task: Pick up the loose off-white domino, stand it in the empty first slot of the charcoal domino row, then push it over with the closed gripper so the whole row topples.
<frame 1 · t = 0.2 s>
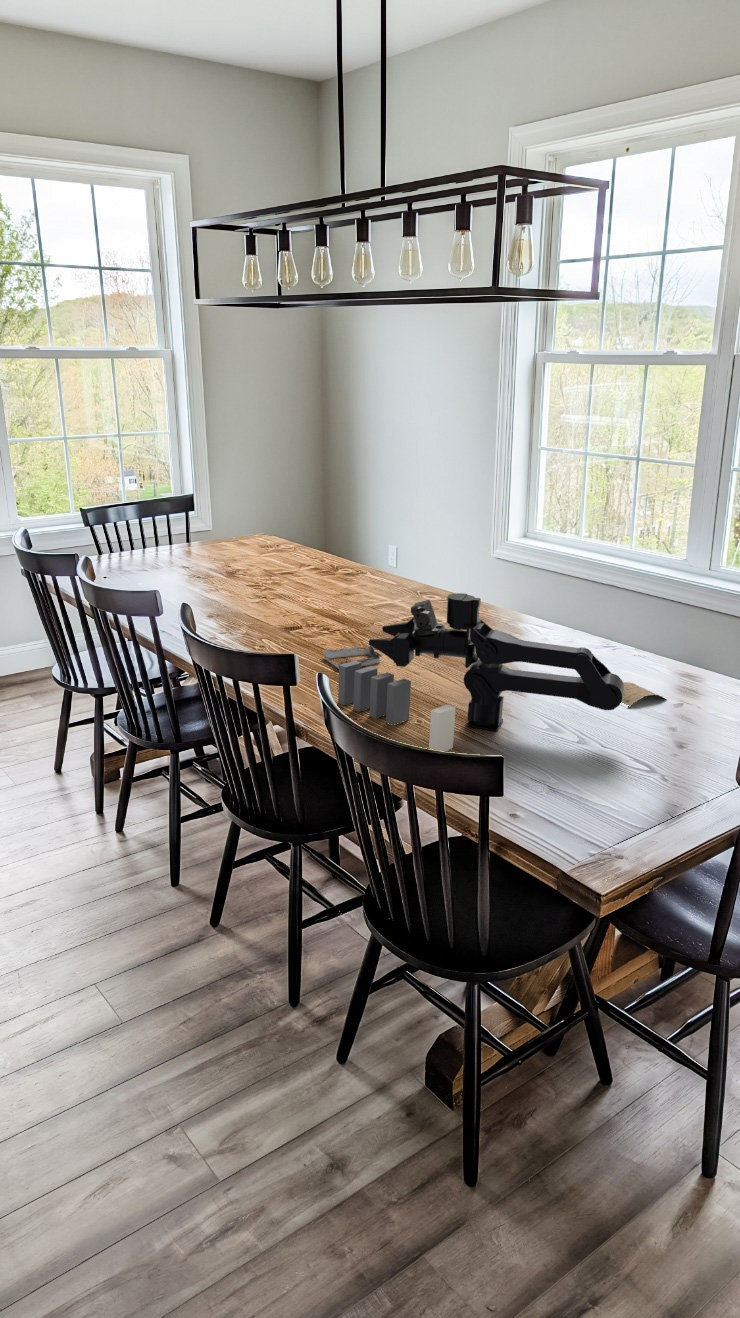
hand: (375, 635, 193), 17 cm above the table, tool horizontal, fingers open, 9 cm apart
clay tablet: (632, 700, 210), on the table
domino 5: (349, 701, 200), on the table
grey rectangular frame: (353, 664, 226), on the table
domino 2: (397, 721, 190), on the table
domino 3: (380, 714, 194), on the table
loose domino: (440, 750, 177), on the table
domino 4: (364, 708, 197), on the table
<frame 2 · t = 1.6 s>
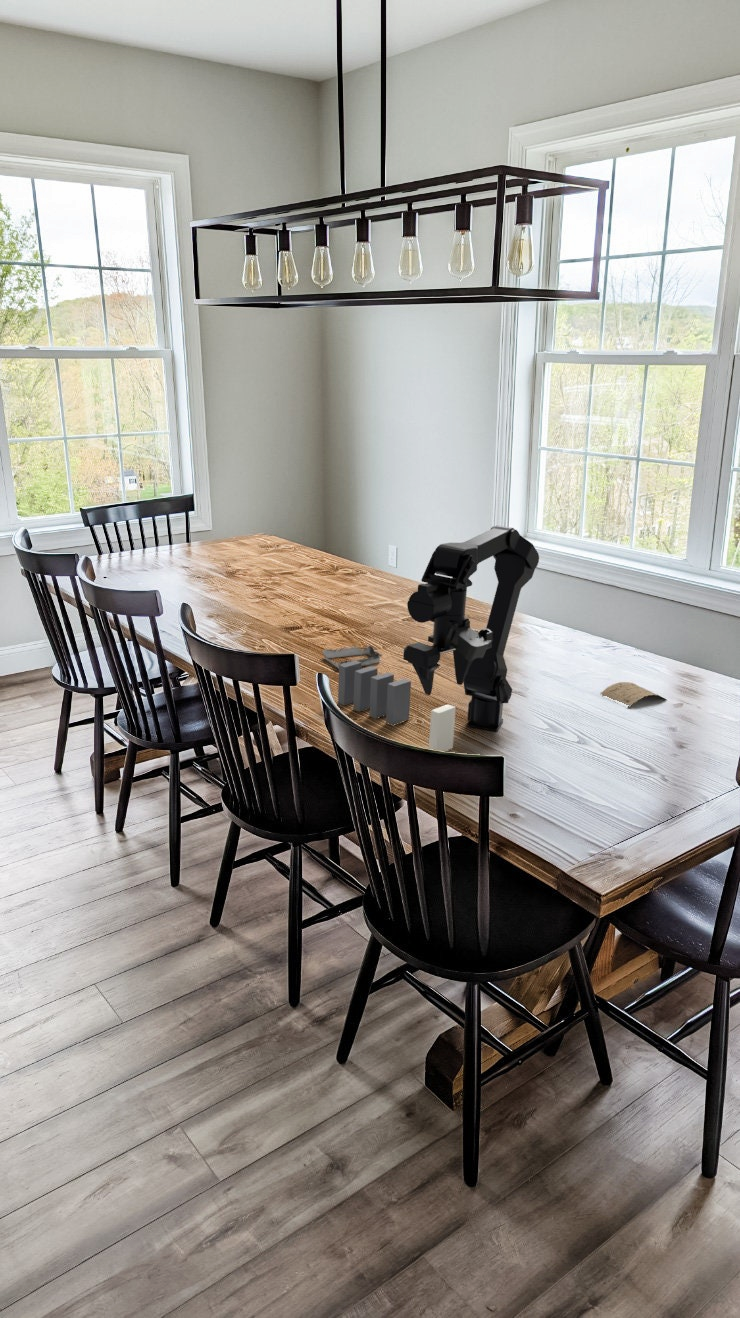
hand: (444, 689, 173), 13 cm above the table, tool pointing down, fingers open, 9 cm apart
nothing on the table moved.
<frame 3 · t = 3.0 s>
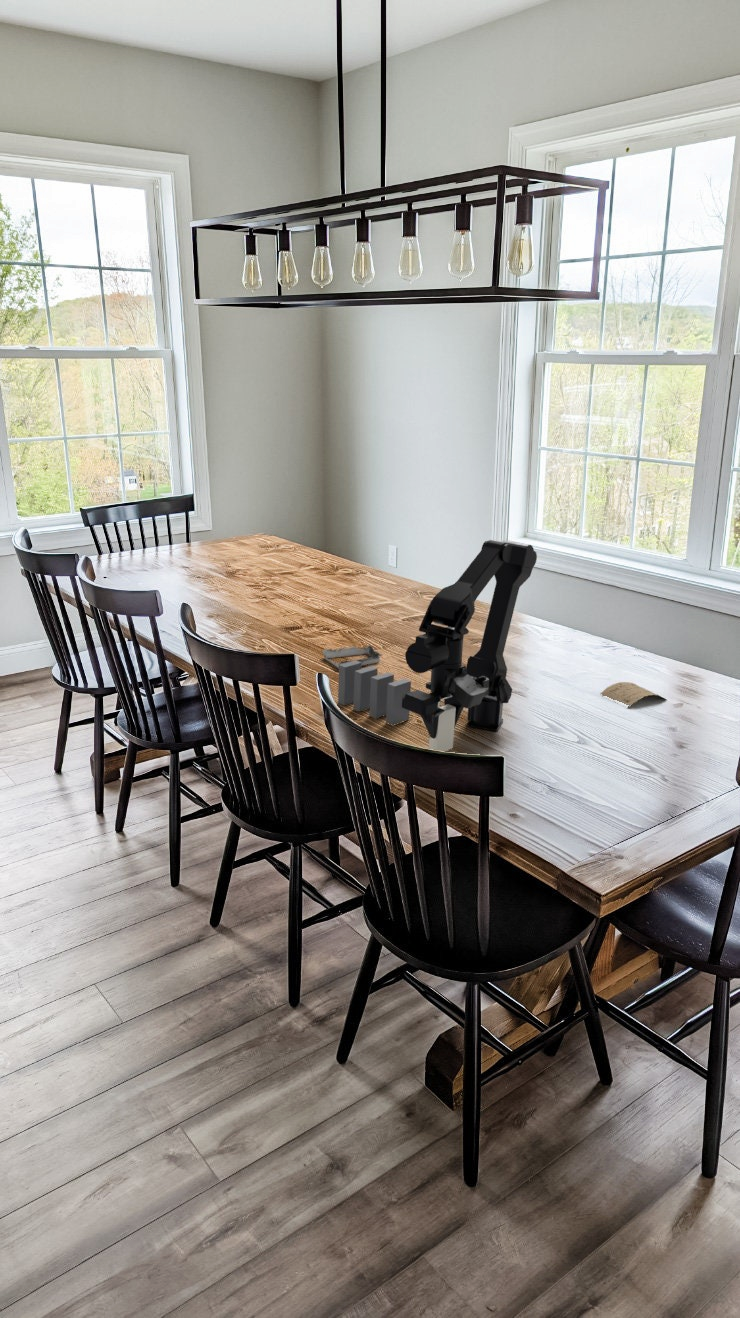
hand: (441, 734, 176), 4 cm above the table, tool pointing down, fingers closed on loose domino, 5 cm apart
loose domino: (440, 750, 177), on the table, touching gripper
everything else where it was.
when the fingers open (4 cm above the table, at t = 7.6 s): loose domino stays where it is, on the table.
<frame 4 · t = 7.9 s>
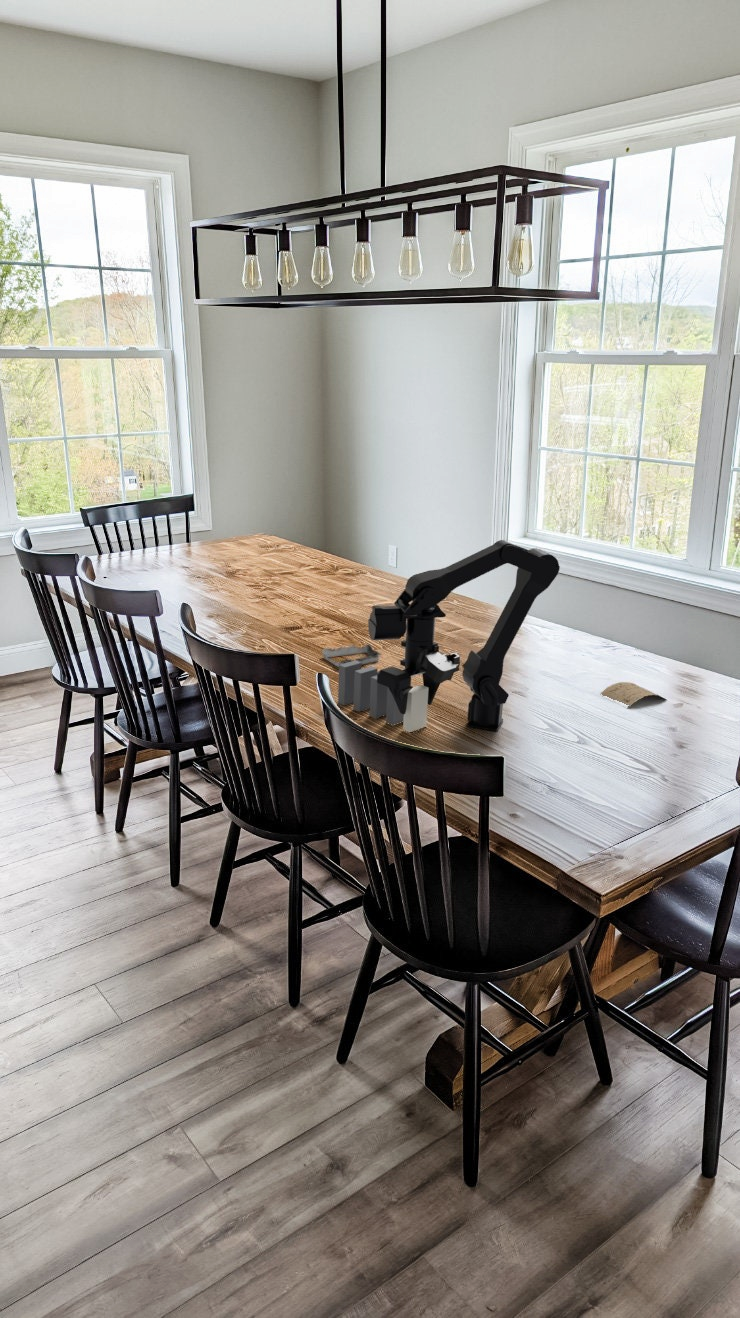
hand: (415, 709, 185), 4 cm above the table, tool pointing down, fingers open, 8 cm apart
loose domino: (414, 729, 187), on the table
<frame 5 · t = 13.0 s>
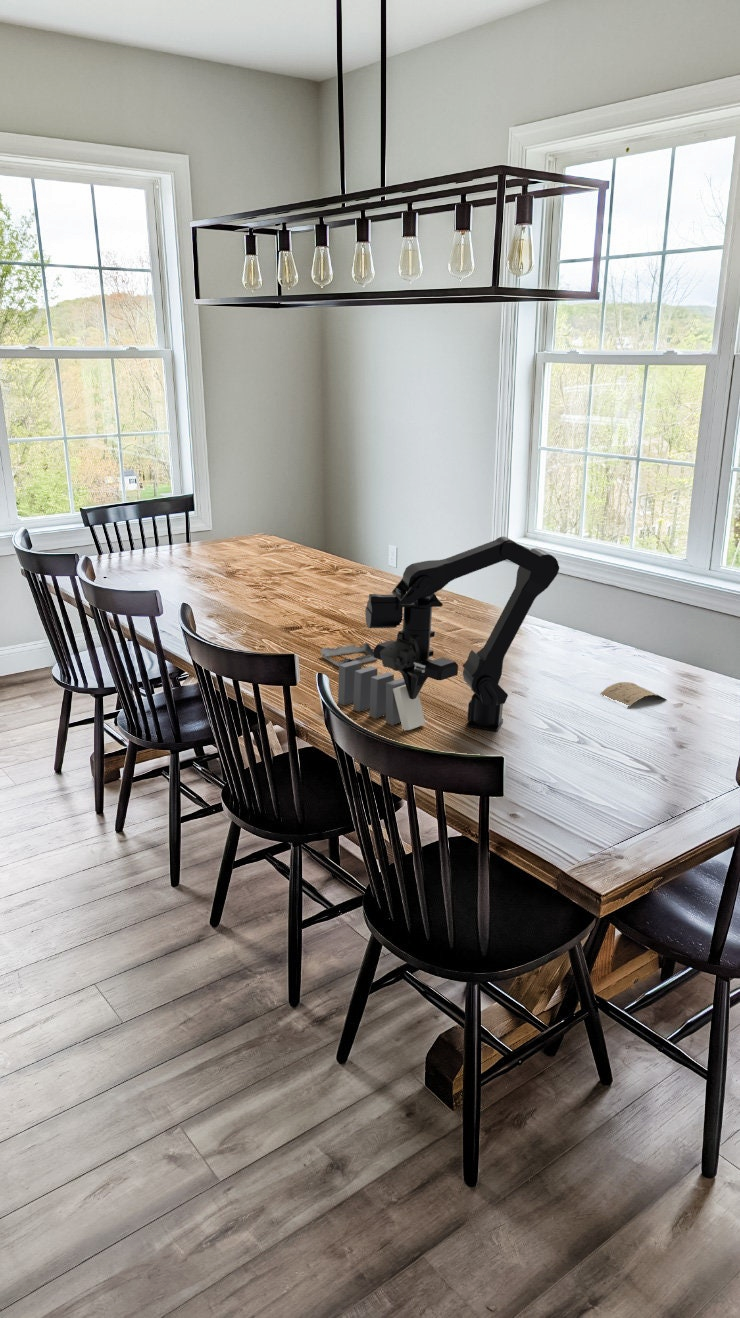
hand: (412, 698, 185), 7 cm above the table, tool pointing down, fingers closed
domino 2: (397, 721, 190), on the table, touching loose domino
loose domino: (414, 727, 187), on the table, tilted 23°, touching domino 2
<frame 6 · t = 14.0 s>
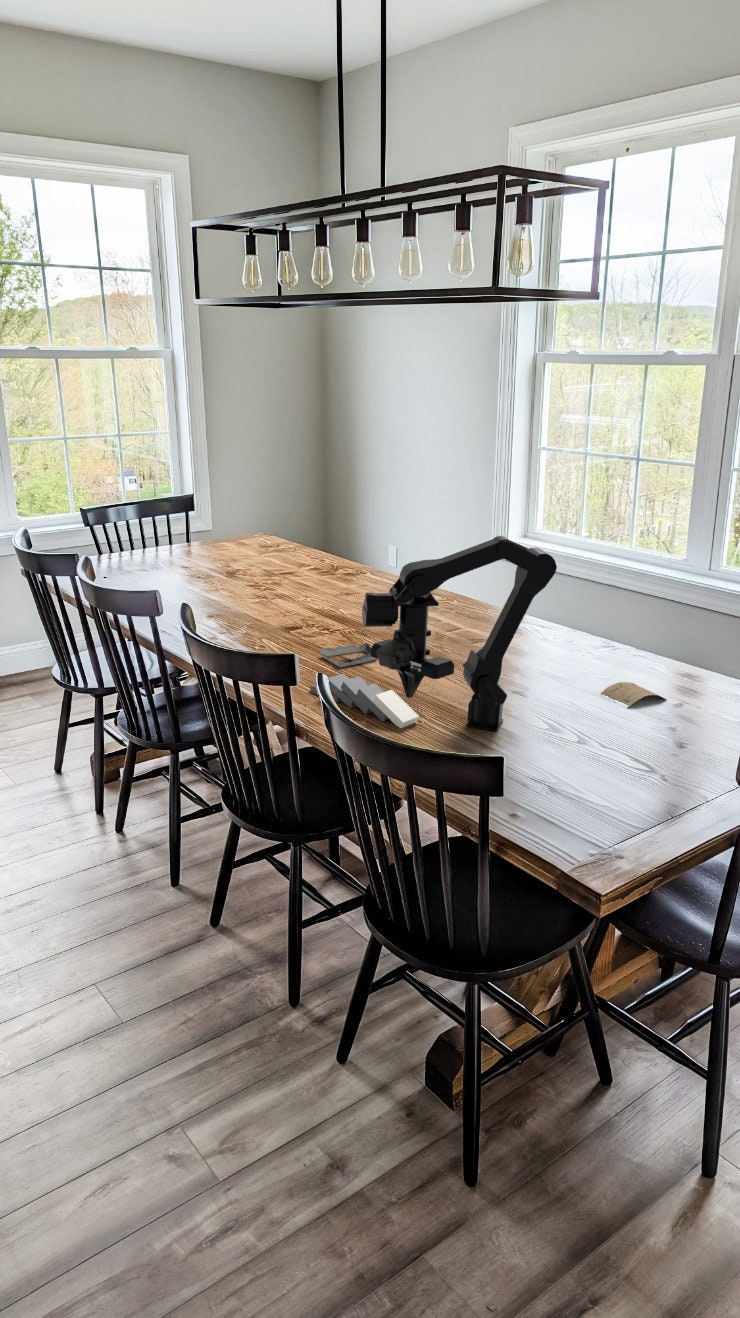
hand: (409, 697, 186), 6 cm above the table, tool pointing down, fingers closed
domino 5: (345, 698, 201), on the table, tilted 90°, touching domino 4
domino 2: (392, 715, 191), point 1 cm above the table, tilted 66°, touching domino 3, loose domino
domino 3: (375, 708, 194), point 1 cm above the table, tilted 66°, touching domino 2, domino 4
loose domino: (409, 722, 188), point 1 cm above the table, tilted 66°, touching domino 2
domino 4: (359, 702, 198), point 1 cm above the table, tilted 72°, touching domino 3, domino 5
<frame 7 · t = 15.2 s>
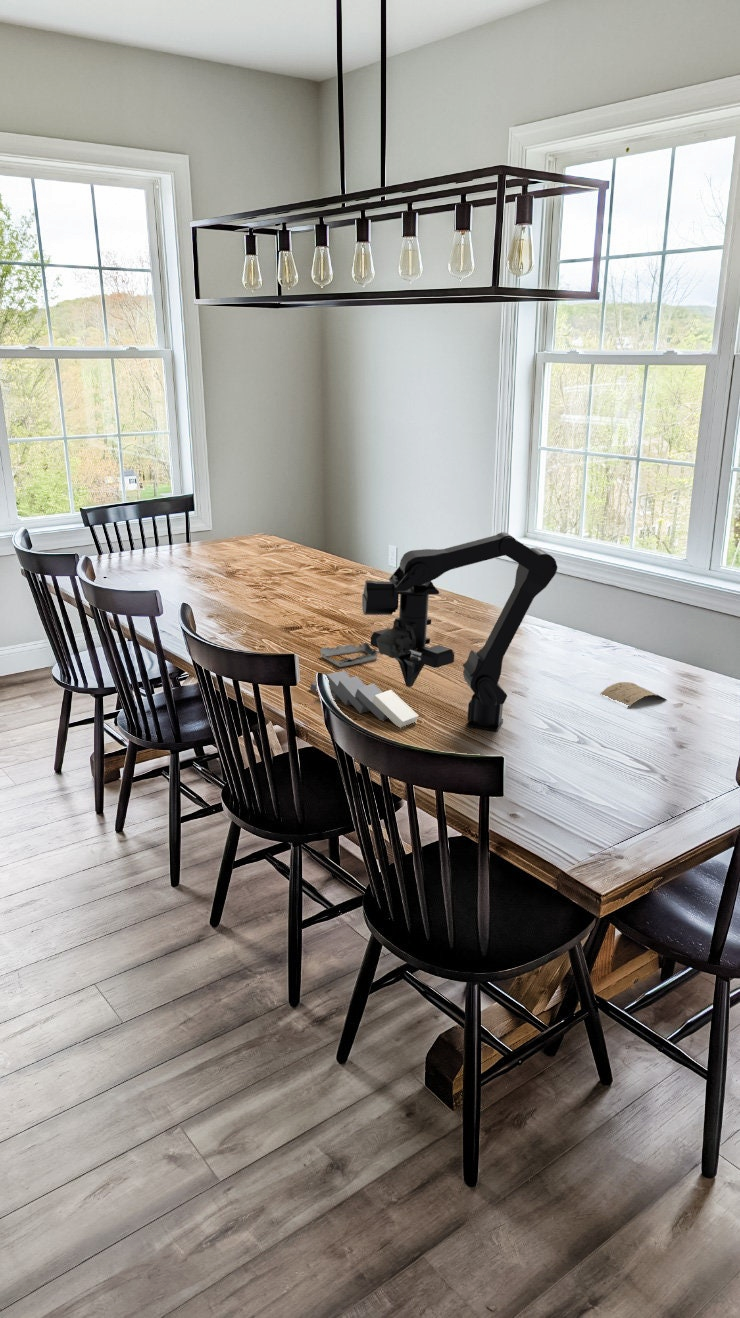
hand: (409, 686, 185), 9 cm above the table, tool pointing down, fingers closed
domino 3: (370, 707, 195), point 1 cm above the table, tilted 67°, touching domino 2, domino 4
domino 4: (356, 700, 198), point 1 cm above the table, tilted 70°, touching domino 3, domino 5
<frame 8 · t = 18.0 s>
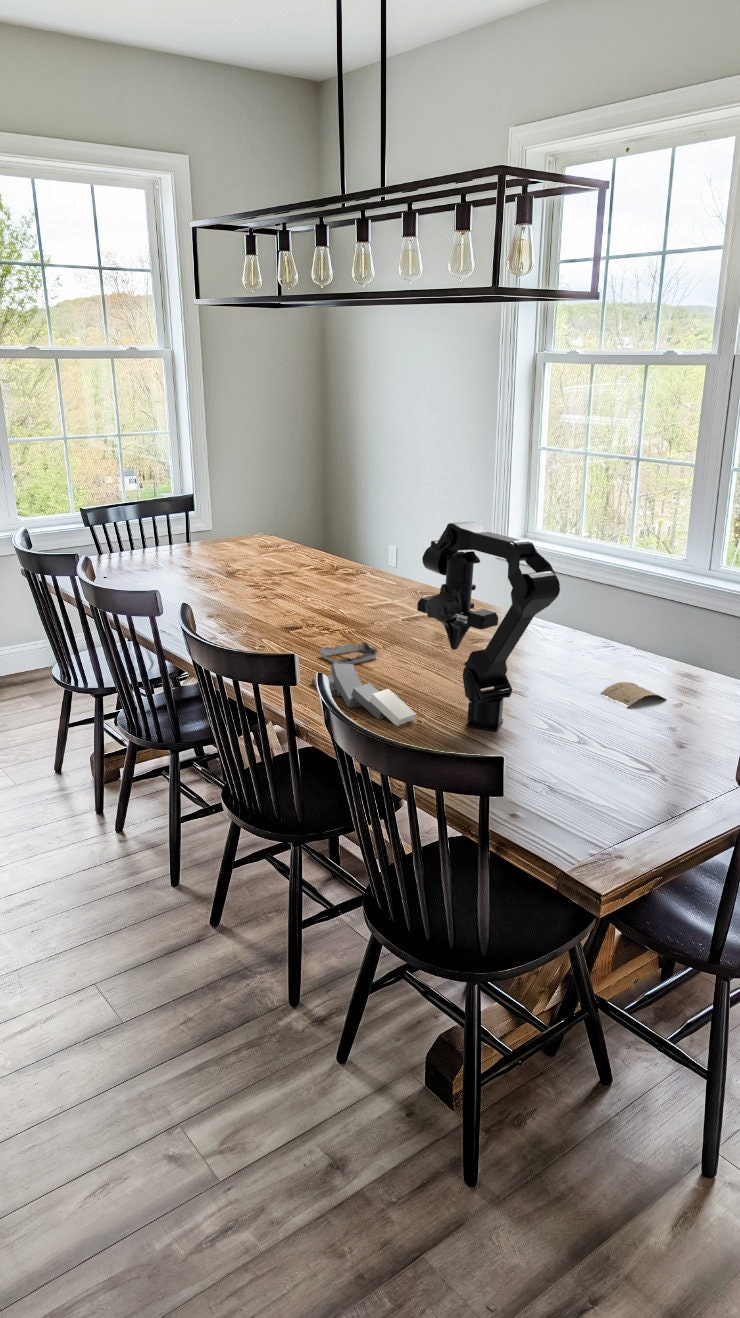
hand: (454, 649, 197), 13 cm above the table, tool pointing down, fingers closed
domino 5: (340, 692, 204), on the table, tilted 90°
domino 2: (387, 713, 192), point 1 cm above the table, tilted 71°, touching loose domino
domino 3: (359, 703, 197), point 1 cm above the table, tilted 68°, touching domino 4
loose domino: (406, 720, 189), point 1 cm above the table, tilted 69°, touching domino 2
domino 4: (349, 693, 202), point 1 cm above the table, tilted 69°, touching domino 3
at the end: domino 5 tilted 90°; loose domino inside the target area (2.2 cm from its centre), point 0.9 cm above the table; loose domino tilted 69° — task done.
